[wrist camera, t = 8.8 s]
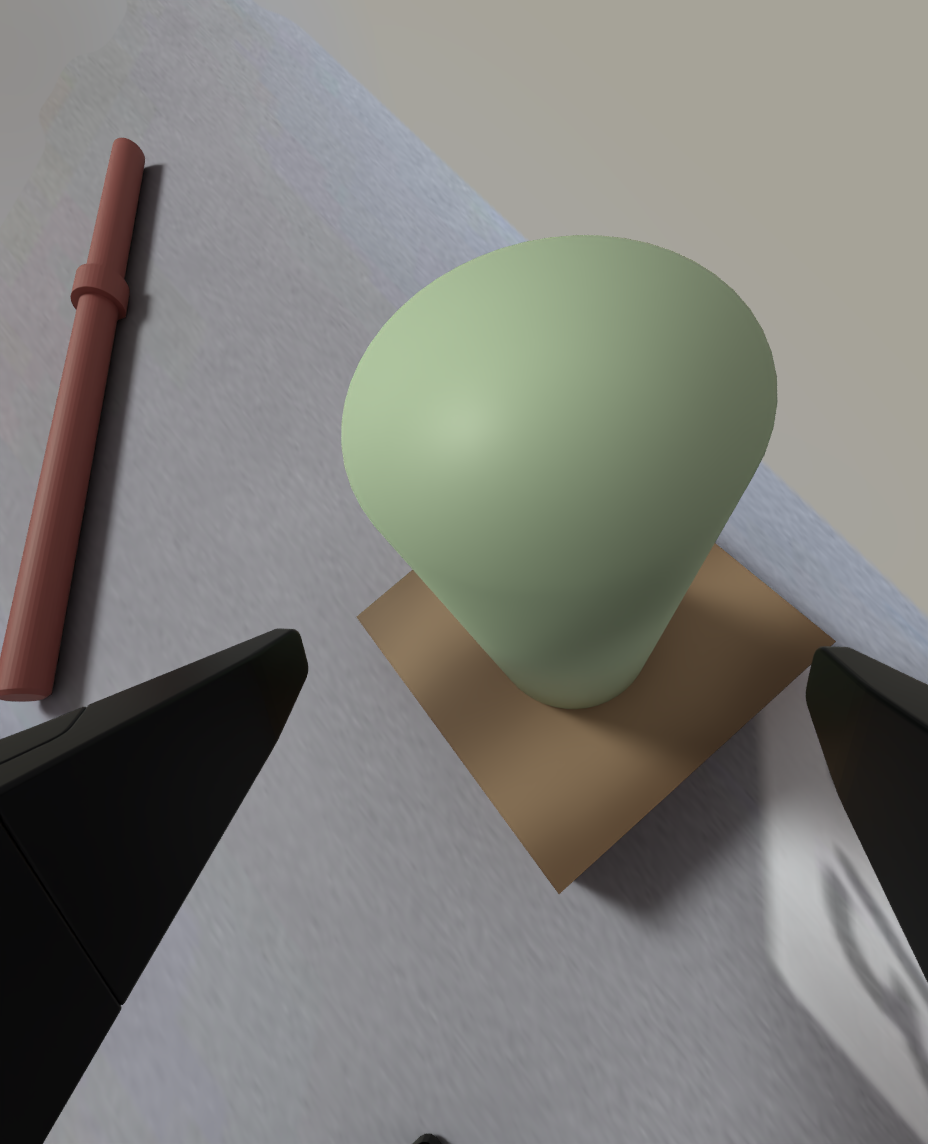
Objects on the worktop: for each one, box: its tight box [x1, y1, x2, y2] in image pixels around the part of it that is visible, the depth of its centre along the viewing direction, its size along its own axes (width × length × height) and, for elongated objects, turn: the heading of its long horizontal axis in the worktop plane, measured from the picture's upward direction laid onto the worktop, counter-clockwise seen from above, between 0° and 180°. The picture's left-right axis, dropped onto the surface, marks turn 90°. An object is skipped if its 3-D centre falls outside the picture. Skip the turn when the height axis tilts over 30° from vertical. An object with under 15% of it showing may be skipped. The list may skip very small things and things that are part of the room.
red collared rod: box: [0, 138, 145, 702], centre depth 34 cm, size 45×3×3 cm, turn 8°
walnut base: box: [357, 543, 836, 894], centre depth 20 cm, size 12×12×3 cm
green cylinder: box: [341, 235, 777, 709], centre depth 13 cm, size 6×6×13 cm
